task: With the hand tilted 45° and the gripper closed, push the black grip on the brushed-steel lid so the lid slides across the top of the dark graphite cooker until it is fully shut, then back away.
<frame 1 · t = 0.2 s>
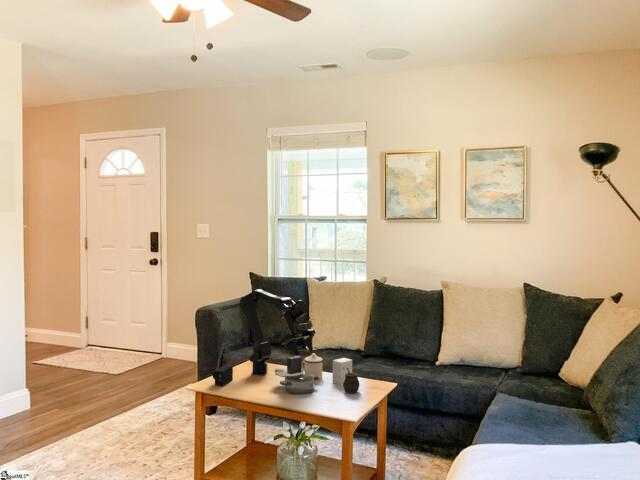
hand: (305, 353, 251), 15 cm above the table, tool tilted 35°, fingers open, 9 cm apart
mate gourd: (350, 392, 244), on the table
small box: (342, 382, 259), on the table
pot: (299, 390, 245), on the table
teacup with lid: (310, 377, 266), on the table
lid: (289, 364, 251), point 10 cm above the table, slide at 8.0 cm
digital camera: (222, 383, 254), on the table
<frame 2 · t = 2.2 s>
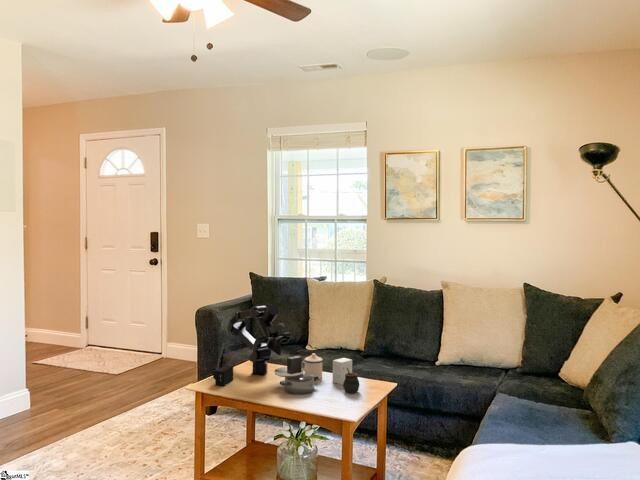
hand: (280, 354, 257), 13 cm above the table, tool tilted 45°, fingers closed
nothing on the table moved.
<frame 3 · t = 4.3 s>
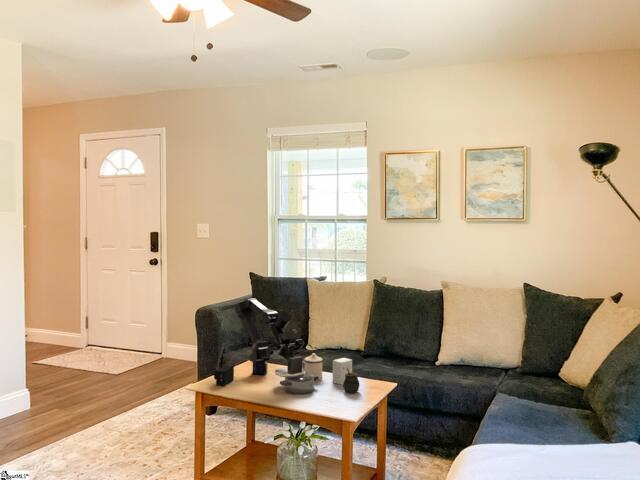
hand: (292, 362, 249), 11 cm above the table, tool tilted 45°, fingers closed, pressing on lid
lid: (289, 364, 251), point 10 cm above the table, slide at 7.7 cm, touching gripper
everything else where it was.
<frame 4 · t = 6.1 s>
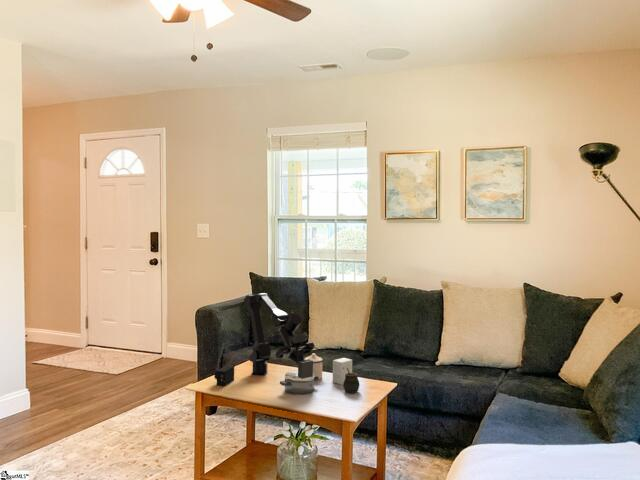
hand: (303, 366, 243), 11 cm above the table, tool tilted 45°, fingers closed, pressing on lid
lid: (300, 368, 244), point 10 cm above the table, slide at -0.2 cm, touching gripper
everything else where it was.
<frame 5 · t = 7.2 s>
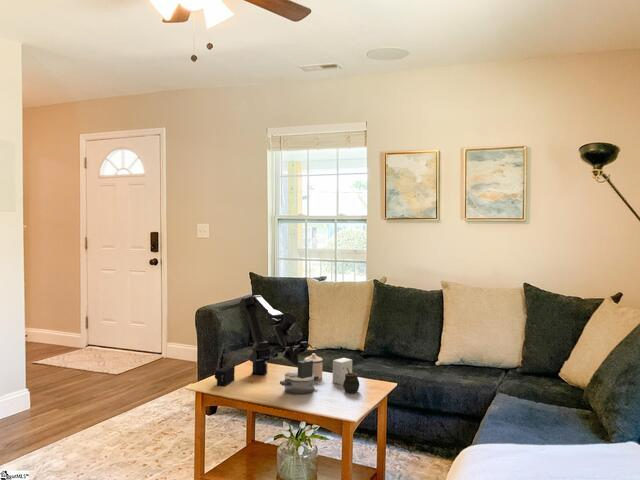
hand: (297, 365, 246), 11 cm above the table, tool tilted 45°, fingers closed
lid: (299, 368, 245), point 10 cm above the table, slide at 0.0 cm
everything else where it was.
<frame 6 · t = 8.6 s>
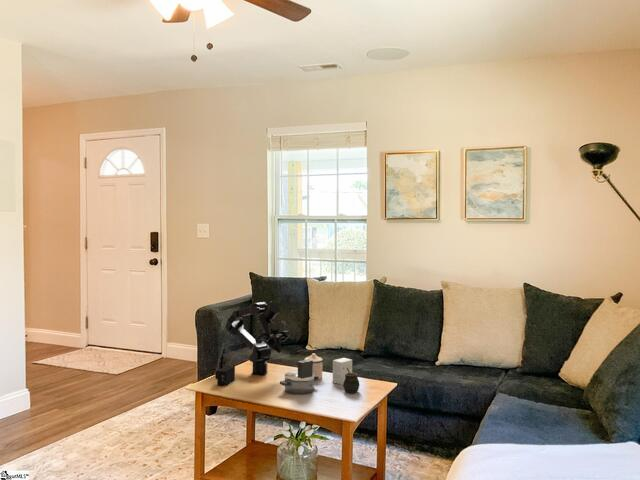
hand: (280, 352, 258), 13 cm above the table, tool tilted 40°, fingers closed
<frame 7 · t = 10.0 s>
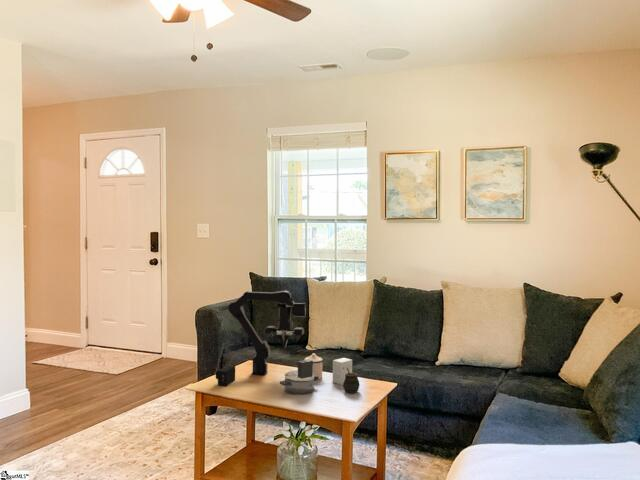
hand: (284, 347, 270), 13 cm above the table, tool pointing down, fingers closed
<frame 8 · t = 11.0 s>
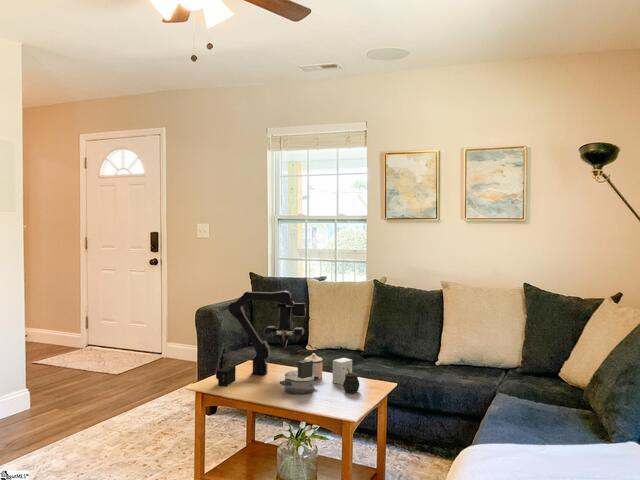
hand: (284, 347, 270), 13 cm above the table, tool pointing down, fingers closed
at the end: lid slide at 0.0 cm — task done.
